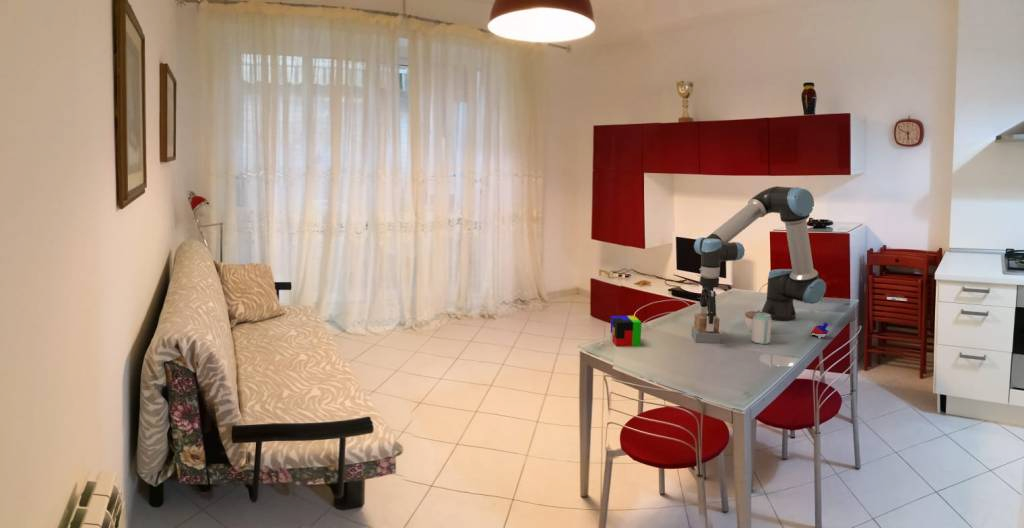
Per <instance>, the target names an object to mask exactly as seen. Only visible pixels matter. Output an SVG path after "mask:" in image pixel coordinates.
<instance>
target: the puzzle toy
mask: <svg viewBox="0 0 1024 528" xmlns="http://www.w3.org/2000/svg"><path fill="white" fill-rule="evenodd" d="M609 335H610V336H609V339H610V340H611V339H612V341H611V342H612V343H613V344H614V346H615V347H641V341H642V340H641V339H642V338H641V336H642V321H641V320H640V319H639V318H638V317H636V315H612V316H610V334H609ZM610 337H611V338H610Z"/></svg>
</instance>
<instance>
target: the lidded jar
mask: <svg viewBox="0 0 1024 528" xmlns="http://www.w3.org/2000/svg"><path fill="white" fill-rule="evenodd" d="M755 313H764V312H762V311H761V310H756V311H755V310H753V311H752V310H751V311H746V312H745V314H744V317H745V318H744V321H745V326H746V328H747V329H748V330H749V332H750V333H752V327H753V317H754V316H755ZM767 314H768V313H767ZM770 317H771V315H770Z"/></svg>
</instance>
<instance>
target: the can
mask: <svg viewBox="0 0 1024 528" xmlns="http://www.w3.org/2000/svg"><path fill="white" fill-rule="evenodd" d="M772 321H773V320H772V319H771V317H770V314H767V313H755V316H754V317H753V327H752V332H751V341H752V342H753V343H754V342H755V343H754V344H757V343H761V344H760V345H767V344H769V343H770V342H771V333H772V332H771V331H772ZM766 343H767V344H766Z"/></svg>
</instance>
